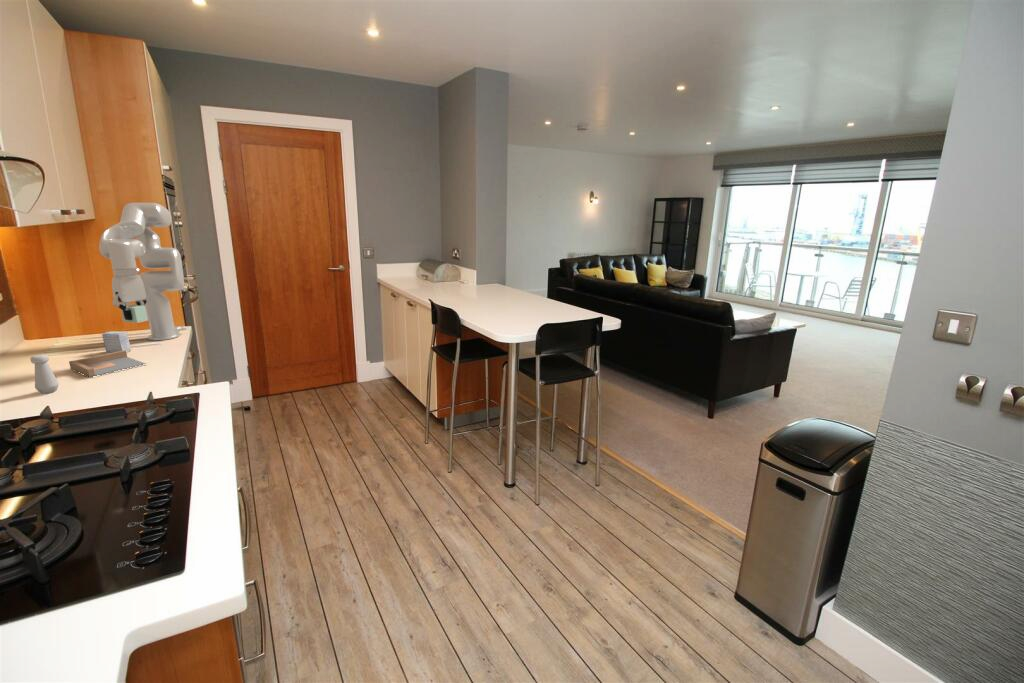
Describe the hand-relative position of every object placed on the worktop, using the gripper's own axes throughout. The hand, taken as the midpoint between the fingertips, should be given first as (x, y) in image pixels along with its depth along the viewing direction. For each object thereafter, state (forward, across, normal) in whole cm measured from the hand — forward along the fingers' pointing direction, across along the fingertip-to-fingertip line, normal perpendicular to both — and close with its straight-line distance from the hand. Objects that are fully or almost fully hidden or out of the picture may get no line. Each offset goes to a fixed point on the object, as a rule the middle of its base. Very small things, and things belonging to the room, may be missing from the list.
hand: (135, 317), depth 195 cm
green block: (+1, 0, 0) cm, 1 cm away
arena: (+17, +11, -3) cm, 21 cm away
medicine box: (+18, -5, -20) cm, 27 cm away
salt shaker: (+18, +36, +4) cm, 41 cm away
